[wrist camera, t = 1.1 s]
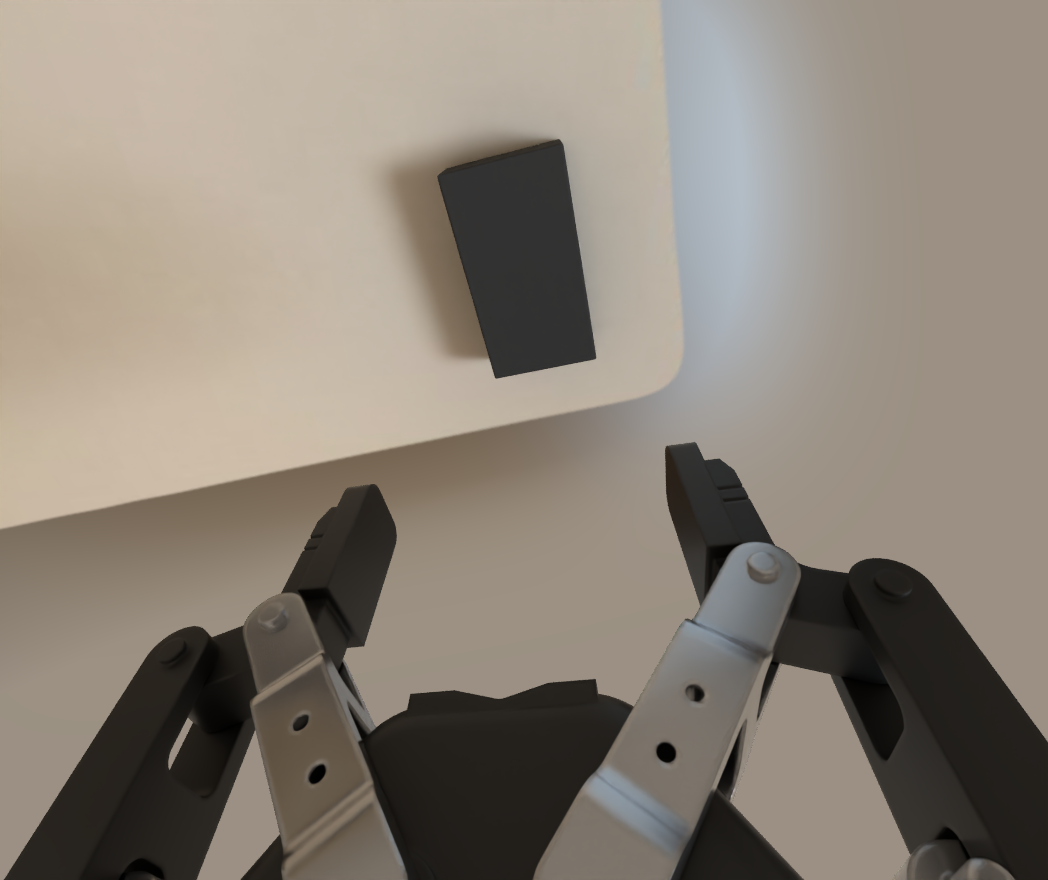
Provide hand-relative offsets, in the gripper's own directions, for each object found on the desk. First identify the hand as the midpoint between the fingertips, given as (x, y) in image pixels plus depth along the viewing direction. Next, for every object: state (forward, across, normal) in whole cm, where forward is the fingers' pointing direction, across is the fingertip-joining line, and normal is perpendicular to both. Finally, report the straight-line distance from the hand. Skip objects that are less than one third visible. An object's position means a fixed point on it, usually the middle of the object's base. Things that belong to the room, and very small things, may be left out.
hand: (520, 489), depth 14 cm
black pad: (+16, 0, -2) cm, 16 cm away
